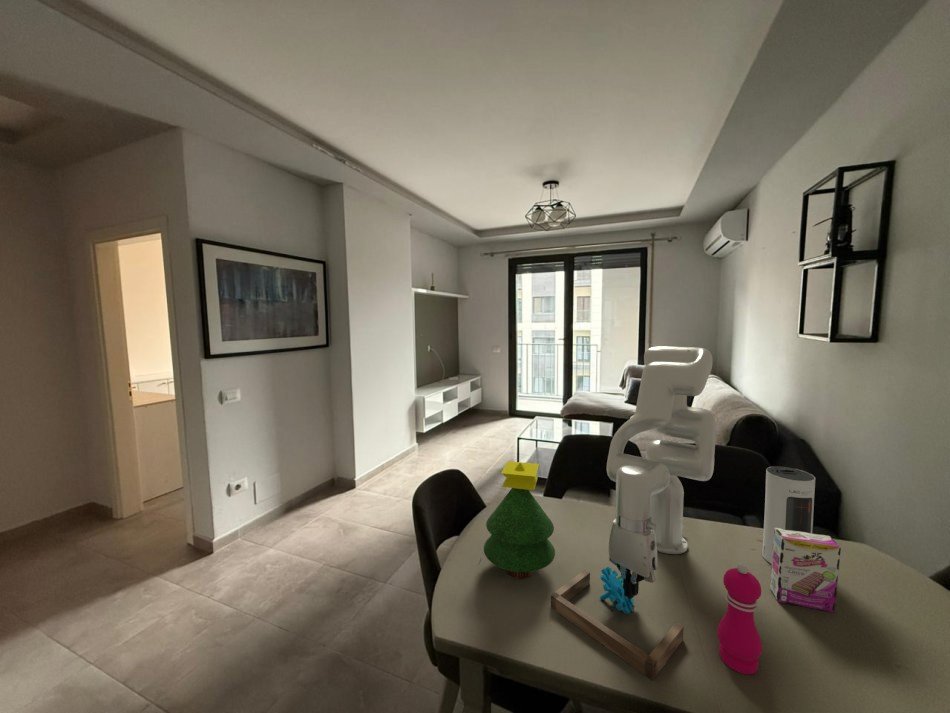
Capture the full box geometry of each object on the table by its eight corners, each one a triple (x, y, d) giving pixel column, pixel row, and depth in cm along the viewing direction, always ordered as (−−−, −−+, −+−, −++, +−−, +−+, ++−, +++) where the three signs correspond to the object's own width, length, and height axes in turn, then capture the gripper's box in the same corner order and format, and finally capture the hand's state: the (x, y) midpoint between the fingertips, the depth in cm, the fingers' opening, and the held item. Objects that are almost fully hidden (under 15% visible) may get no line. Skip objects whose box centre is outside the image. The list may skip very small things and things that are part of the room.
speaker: (768, 568, 101) (773, 475, 99) (755, 547, 110) (760, 462, 108) (817, 578, 97) (824, 481, 95) (800, 555, 107) (806, 467, 104)
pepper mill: (707, 646, 77) (712, 554, 75) (740, 643, 77) (745, 552, 76) (735, 679, 70) (740, 578, 68) (770, 675, 70) (776, 575, 69)
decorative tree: (475, 587, 94) (474, 473, 92) (492, 545, 113) (491, 448, 110) (552, 602, 89) (553, 481, 87) (556, 554, 108) (557, 454, 105)
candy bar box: (777, 603, 88) (781, 537, 87) (769, 589, 93) (772, 526, 92) (837, 614, 85) (842, 546, 83) (824, 599, 89) (829, 534, 88)
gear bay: (584, 580, 97) (584, 569, 97) (683, 639, 78) (683, 626, 78) (550, 607, 88) (550, 595, 88) (652, 680, 69) (653, 665, 69)
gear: (630, 620, 82) (599, 575, 86) (609, 630, 84) (581, 586, 88) (641, 597, 91) (613, 557, 95) (622, 607, 93) (595, 568, 97)
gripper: (673, 527, 83) (670, 605, 84) (611, 503, 94) (609, 572, 96) (658, 540, 78) (655, 622, 80) (595, 513, 90) (593, 585, 91)
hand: (630, 594), depth 88 cm, fingers closed
